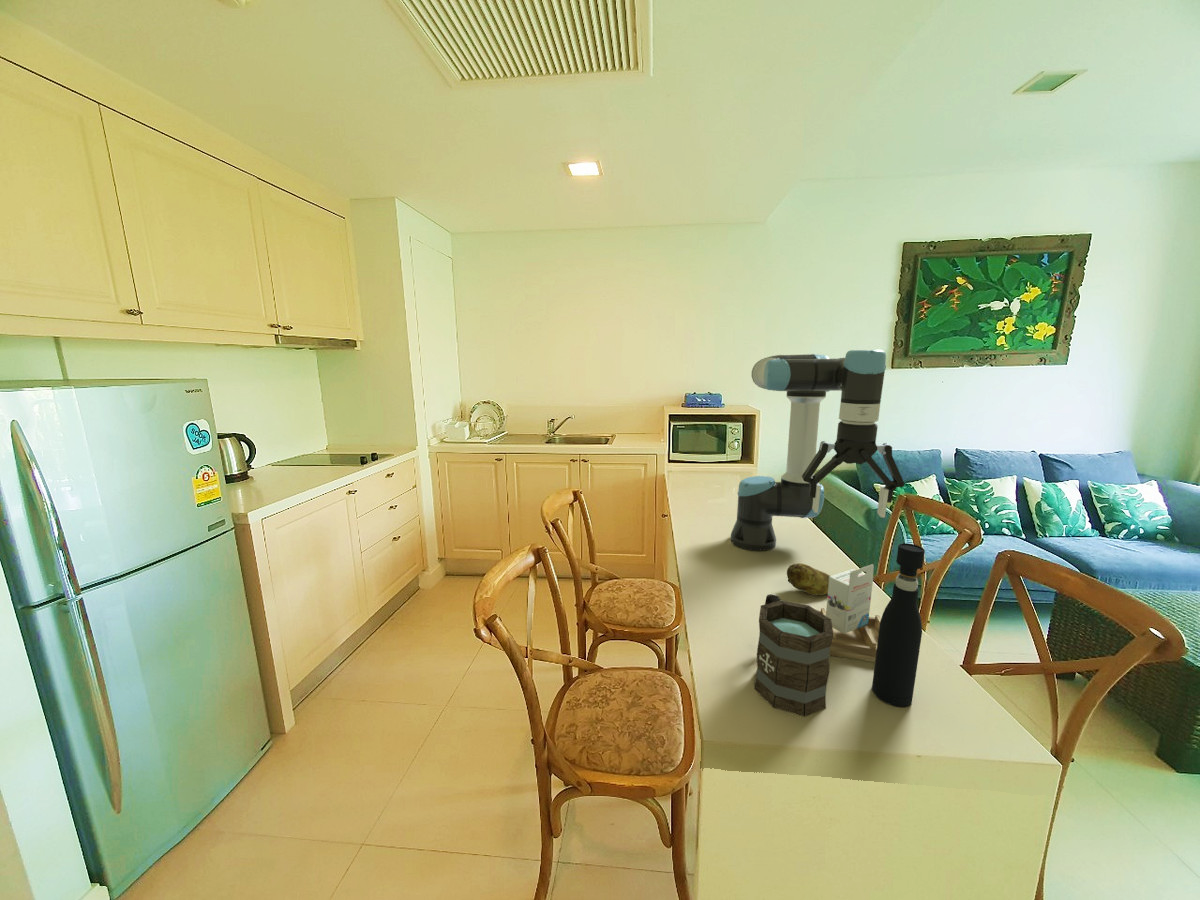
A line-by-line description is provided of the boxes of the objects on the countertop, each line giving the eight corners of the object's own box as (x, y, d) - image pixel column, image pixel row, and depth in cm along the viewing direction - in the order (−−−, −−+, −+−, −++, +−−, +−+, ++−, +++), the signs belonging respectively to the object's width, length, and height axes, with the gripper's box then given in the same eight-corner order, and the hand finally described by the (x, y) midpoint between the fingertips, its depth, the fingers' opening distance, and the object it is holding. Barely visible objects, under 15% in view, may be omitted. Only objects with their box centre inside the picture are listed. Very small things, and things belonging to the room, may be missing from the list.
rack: (785, 617, 108) (786, 602, 108) (876, 629, 103) (878, 614, 102) (793, 649, 96) (794, 633, 95) (896, 665, 91) (899, 648, 90)
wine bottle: (864, 683, 86) (881, 541, 80) (894, 681, 86) (914, 539, 81) (888, 708, 80) (908, 556, 74) (920, 706, 80) (943, 554, 74)
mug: (842, 716, 78) (850, 642, 75) (766, 716, 78) (771, 641, 75) (796, 646, 97) (801, 585, 94) (735, 646, 98) (739, 585, 95)
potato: (839, 603, 115) (842, 574, 113) (787, 596, 118) (789, 569, 116) (832, 587, 123) (834, 561, 121) (783, 582, 126) (784, 556, 124)
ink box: (847, 613, 103) (854, 555, 100) (868, 624, 98) (876, 563, 96) (823, 623, 99) (829, 563, 96) (844, 635, 95) (851, 572, 92)
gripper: (798, 423, 95) (791, 514, 100) (931, 426, 89) (916, 523, 93) (793, 417, 102) (786, 503, 107) (916, 420, 96) (903, 511, 100)
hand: (847, 513), depth 100 cm, fingers open, 13 cm apart
